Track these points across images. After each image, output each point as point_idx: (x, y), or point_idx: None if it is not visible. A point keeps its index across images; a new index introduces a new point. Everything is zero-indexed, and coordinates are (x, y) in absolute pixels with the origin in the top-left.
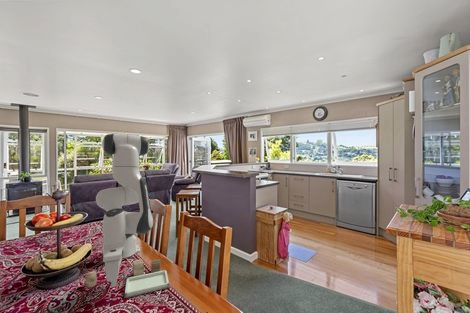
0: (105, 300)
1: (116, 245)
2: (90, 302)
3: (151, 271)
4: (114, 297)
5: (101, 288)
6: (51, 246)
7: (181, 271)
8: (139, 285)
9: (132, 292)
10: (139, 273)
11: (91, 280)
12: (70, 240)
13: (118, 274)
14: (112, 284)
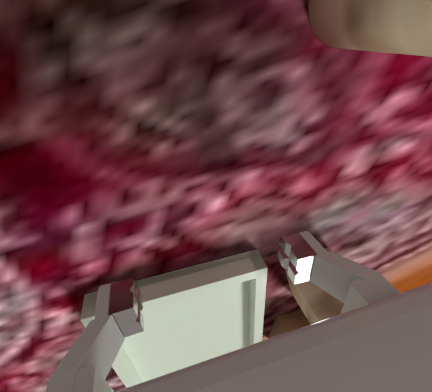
0: (66, 202)
1: None
2: (41, 91)
3: (282, 329)
4: (99, 243)
5: (245, 117)
6: None
7: None
8: (183, 320)
9: None
10: (295, 292)
11: (354, 8)
12: None
13: (284, 263)
14: (100, 308)
